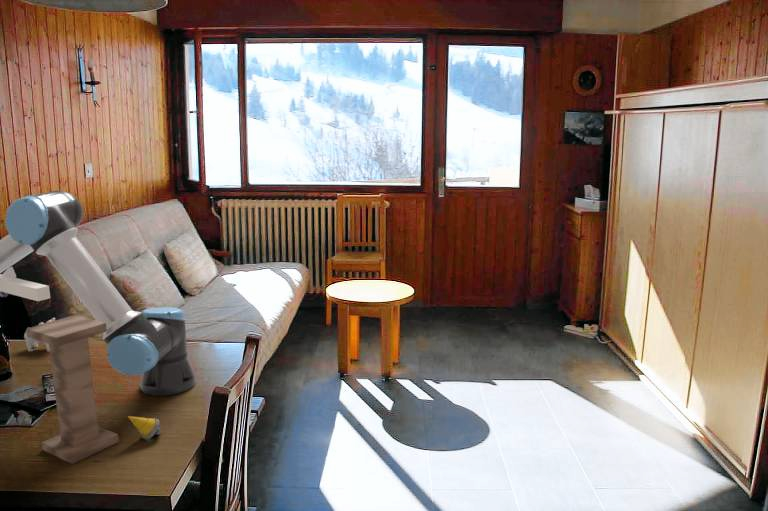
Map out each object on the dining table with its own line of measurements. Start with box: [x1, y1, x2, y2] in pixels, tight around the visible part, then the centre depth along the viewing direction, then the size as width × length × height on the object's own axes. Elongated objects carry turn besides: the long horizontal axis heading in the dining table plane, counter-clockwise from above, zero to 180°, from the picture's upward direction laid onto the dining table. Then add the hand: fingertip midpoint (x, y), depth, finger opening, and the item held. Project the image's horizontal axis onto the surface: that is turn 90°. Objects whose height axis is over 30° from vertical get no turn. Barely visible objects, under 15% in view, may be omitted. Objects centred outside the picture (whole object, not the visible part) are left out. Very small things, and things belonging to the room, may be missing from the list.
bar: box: [0, 273, 51, 302], centre depth 161 cm, size 24×3×3 cm, turn 57°
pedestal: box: [25, 314, 120, 465], centre depth 155 cm, size 12×12×30 cm
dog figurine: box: [23, 317, 56, 353], centre depth 222 cm, size 5×13×11 cm, turn 88°
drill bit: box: [127, 415, 162, 441], centre depth 161 cm, size 5×5×10 cm
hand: (5, 273), depth 163 cm, fingers closed on bar, 3 cm apart
